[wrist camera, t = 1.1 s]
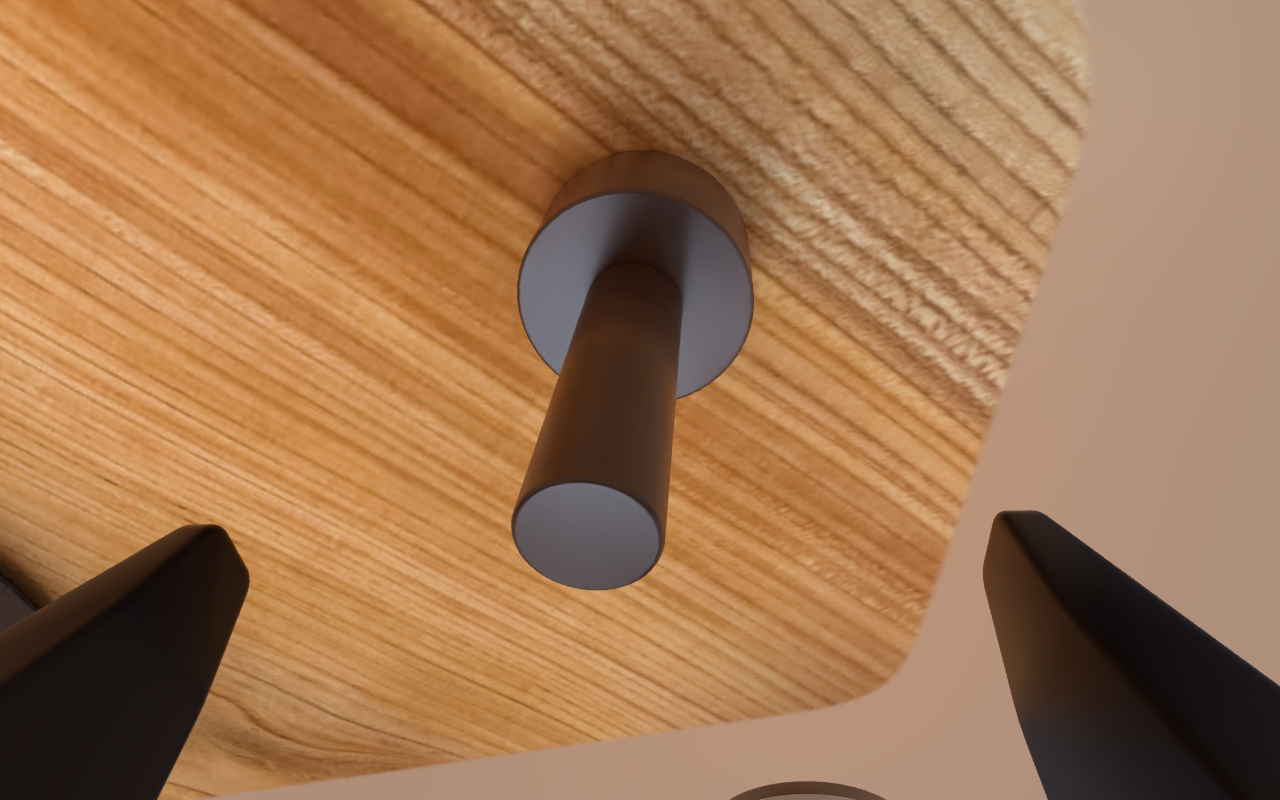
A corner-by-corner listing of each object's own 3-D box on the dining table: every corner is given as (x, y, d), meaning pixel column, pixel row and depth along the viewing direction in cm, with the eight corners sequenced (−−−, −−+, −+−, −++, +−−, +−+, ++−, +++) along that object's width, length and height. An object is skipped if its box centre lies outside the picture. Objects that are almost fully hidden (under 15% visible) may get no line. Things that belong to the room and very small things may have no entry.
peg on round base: (793, 246, 15) (864, 535, 8) (657, 378, 17) (617, 701, 10) (628, 100, 14) (539, 293, 7) (503, 264, 16) (333, 542, 9)
